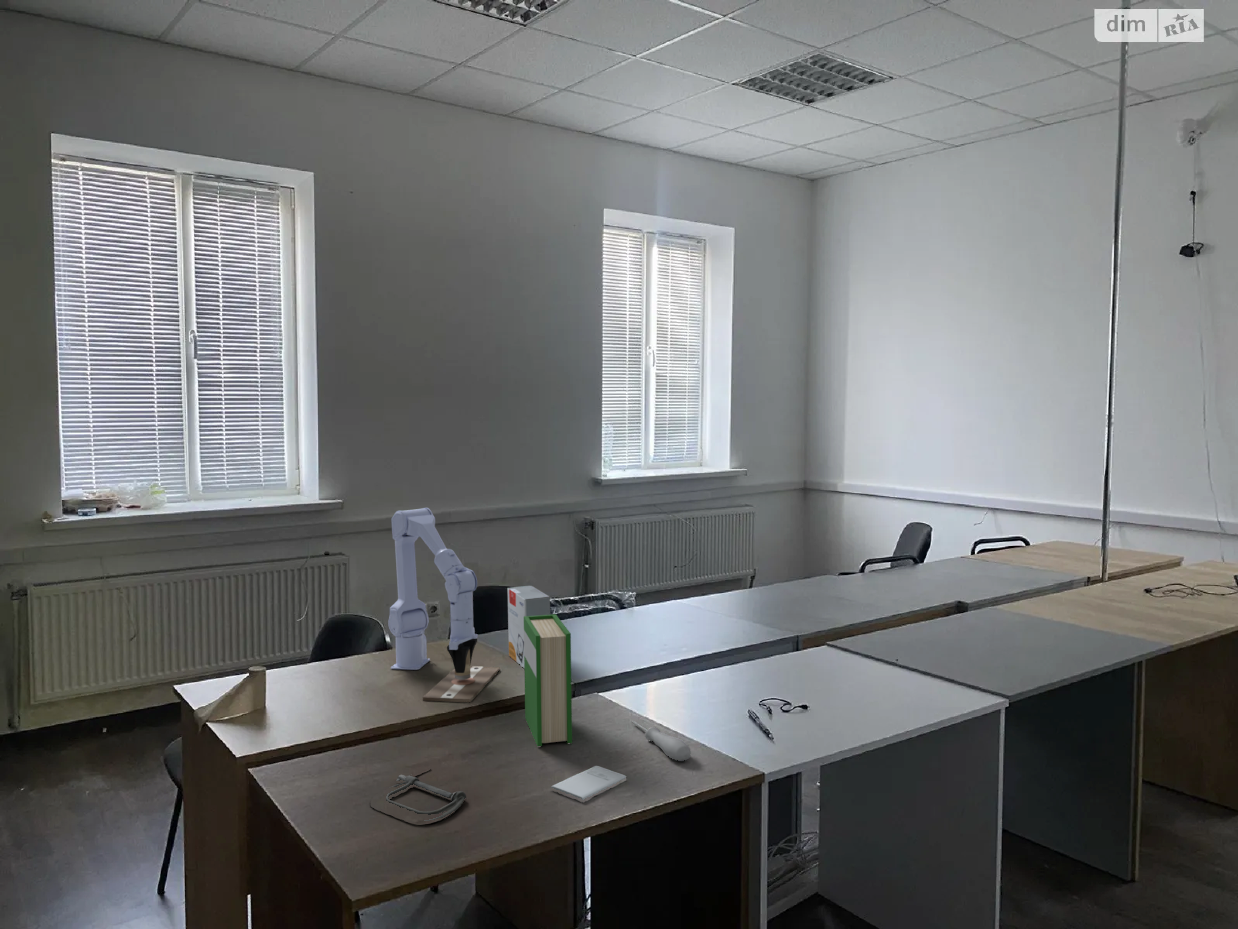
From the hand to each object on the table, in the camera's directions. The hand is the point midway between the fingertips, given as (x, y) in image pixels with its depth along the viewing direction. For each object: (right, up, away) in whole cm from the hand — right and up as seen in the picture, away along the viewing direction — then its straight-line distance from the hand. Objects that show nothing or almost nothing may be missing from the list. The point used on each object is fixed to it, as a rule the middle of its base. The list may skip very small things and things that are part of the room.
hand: (462, 669), depth 231 cm
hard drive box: (+15, -3, +20) cm, 25 cm away
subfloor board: (0, -4, 0) cm, 4 cm away
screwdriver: (+48, -7, -40) cm, 63 cm away
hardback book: (+24, -6, -33) cm, 41 cm away
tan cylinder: (0, -2, 0) cm, 2 cm away
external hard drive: (+35, -9, -61) cm, 70 cm away
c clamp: (+4, -10, -66) cm, 66 cm away
